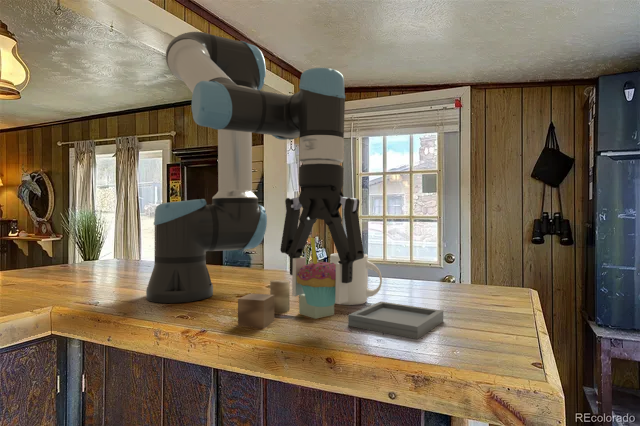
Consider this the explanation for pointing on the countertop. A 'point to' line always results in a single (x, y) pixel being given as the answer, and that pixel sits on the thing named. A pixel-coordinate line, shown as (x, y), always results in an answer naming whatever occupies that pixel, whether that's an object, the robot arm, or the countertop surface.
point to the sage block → (313, 309)
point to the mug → (359, 280)
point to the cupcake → (318, 281)
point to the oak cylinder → (280, 295)
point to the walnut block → (255, 310)
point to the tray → (396, 319)
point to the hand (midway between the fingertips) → (319, 298)
